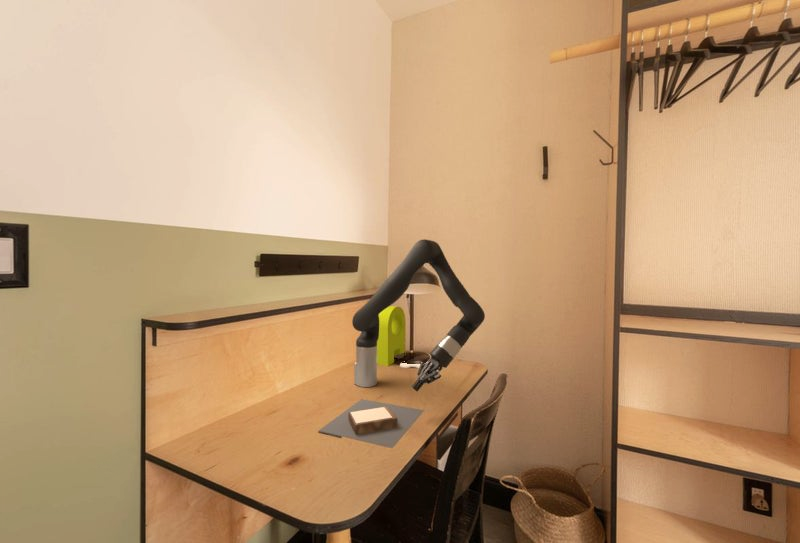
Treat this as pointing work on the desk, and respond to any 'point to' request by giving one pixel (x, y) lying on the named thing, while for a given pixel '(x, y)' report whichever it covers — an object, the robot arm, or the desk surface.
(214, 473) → the desk surface
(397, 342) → the decorative object
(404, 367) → the flat white fragment
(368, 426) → the walnut picture frame
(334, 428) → the desk mat
